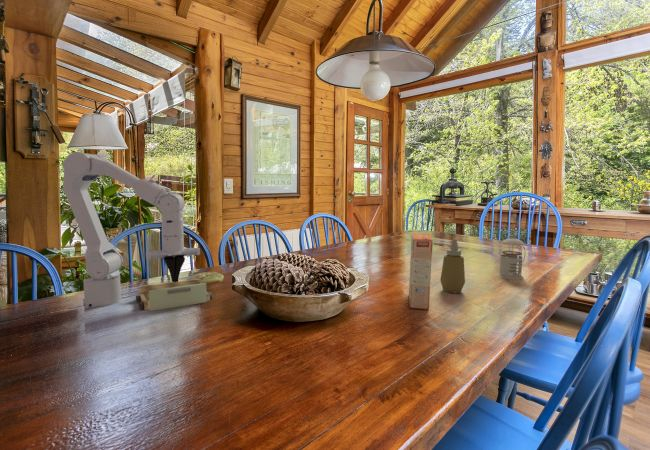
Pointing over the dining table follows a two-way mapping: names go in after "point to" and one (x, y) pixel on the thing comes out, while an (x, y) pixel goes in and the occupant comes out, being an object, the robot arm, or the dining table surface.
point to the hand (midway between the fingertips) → (174, 281)
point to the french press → (511, 260)
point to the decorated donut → (209, 277)
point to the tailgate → (177, 296)
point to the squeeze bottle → (453, 270)
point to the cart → (144, 290)
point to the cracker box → (420, 270)
